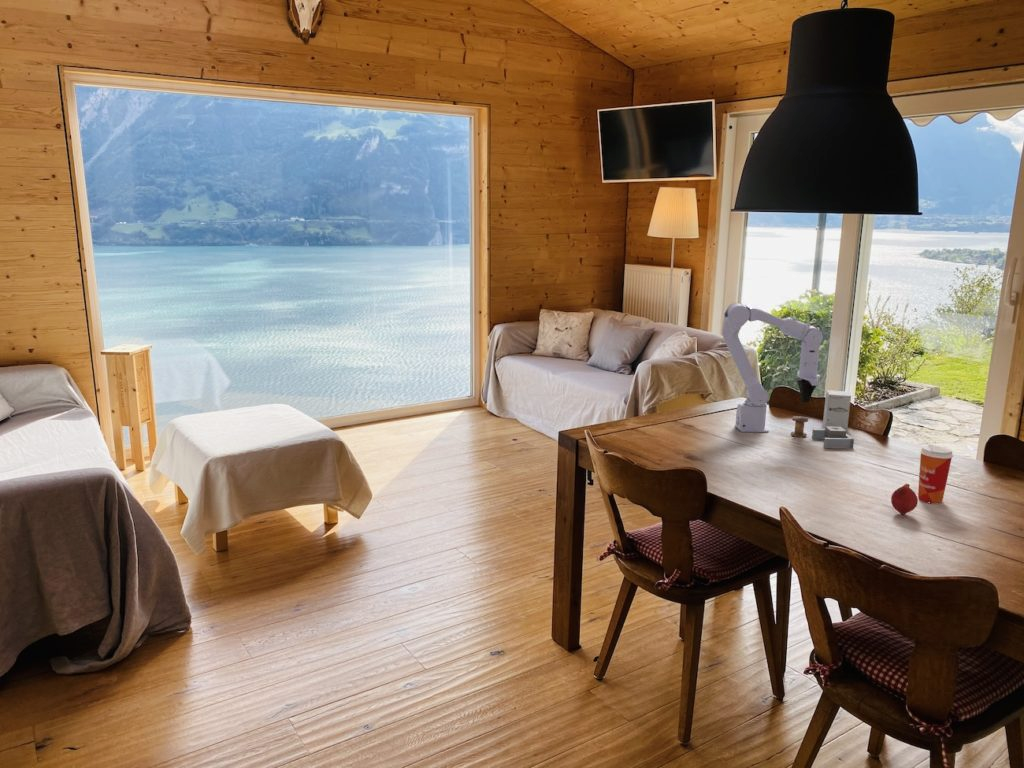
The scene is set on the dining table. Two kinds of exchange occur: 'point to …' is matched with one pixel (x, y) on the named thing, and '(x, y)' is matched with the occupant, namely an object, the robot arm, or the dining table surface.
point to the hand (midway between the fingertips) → (805, 401)
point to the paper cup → (933, 472)
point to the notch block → (833, 440)
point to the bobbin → (799, 426)
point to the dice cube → (834, 432)
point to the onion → (904, 499)
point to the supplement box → (836, 409)
